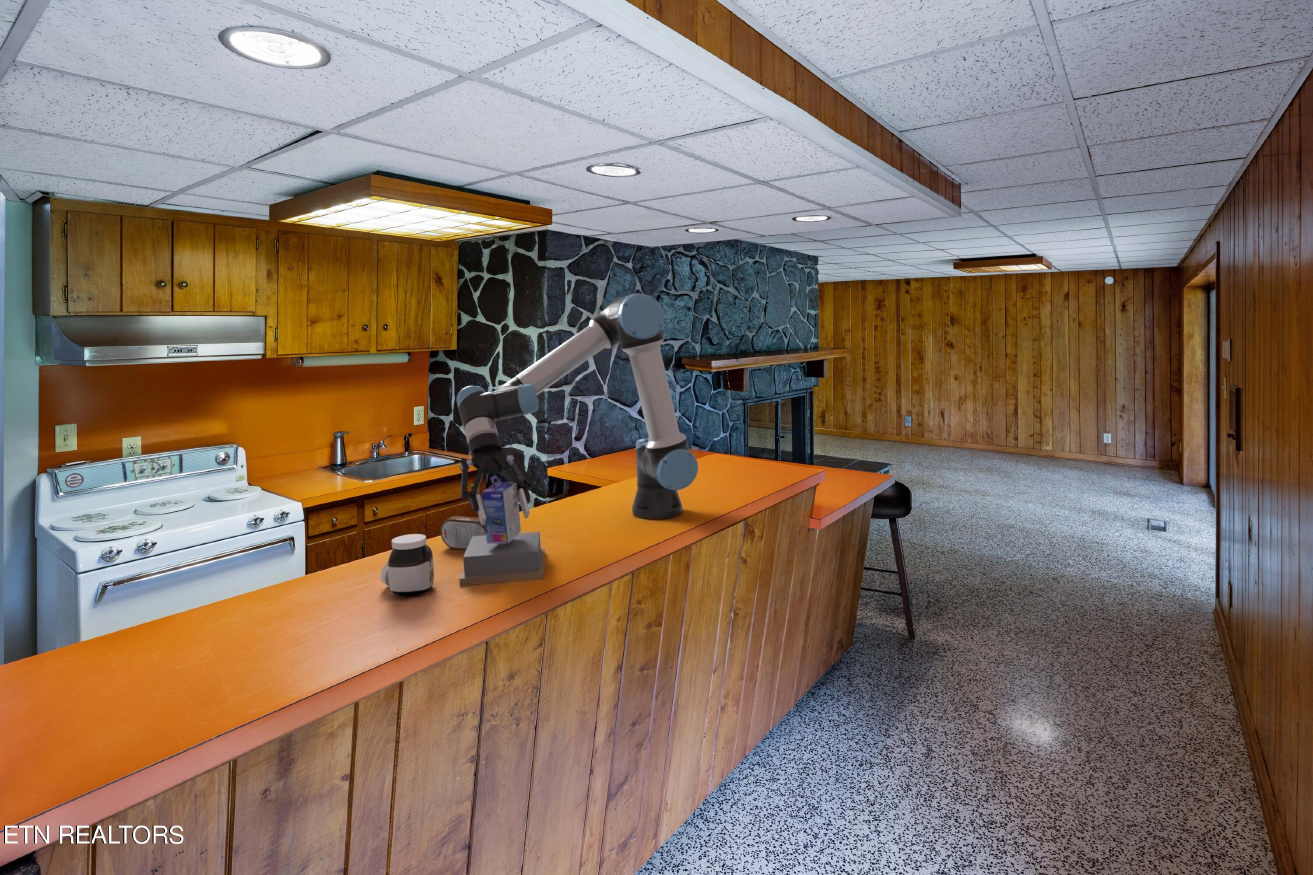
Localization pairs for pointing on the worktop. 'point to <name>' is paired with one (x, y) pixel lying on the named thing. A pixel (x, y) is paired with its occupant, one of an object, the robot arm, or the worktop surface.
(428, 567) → the spread jar
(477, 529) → the tin
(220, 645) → the worktop surface
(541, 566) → the block
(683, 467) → the robot arm
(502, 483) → the ink cartridge box
